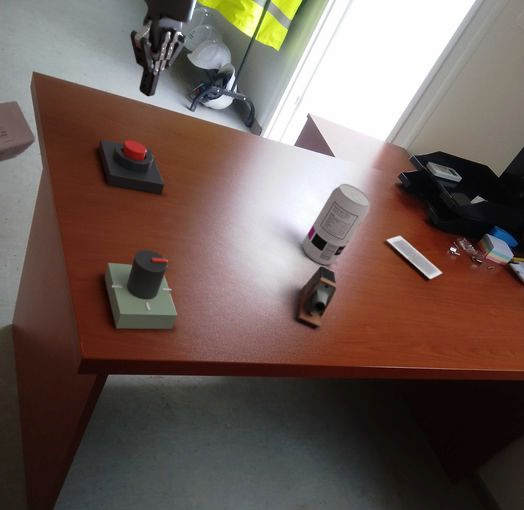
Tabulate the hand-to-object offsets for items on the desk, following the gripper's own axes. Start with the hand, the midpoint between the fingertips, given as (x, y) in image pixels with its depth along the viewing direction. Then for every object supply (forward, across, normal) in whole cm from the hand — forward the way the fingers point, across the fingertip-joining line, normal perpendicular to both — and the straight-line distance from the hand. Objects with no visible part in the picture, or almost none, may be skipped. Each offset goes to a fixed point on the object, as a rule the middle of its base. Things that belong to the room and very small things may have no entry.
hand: (146, 93), depth 78 cm
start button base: (+16, +1, 0) cm, 16 cm away
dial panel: (+16, -28, -22) cm, 39 cm away
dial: (+13, -28, -22) cm, 38 cm away
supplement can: (+15, +15, -39) cm, 45 cm away
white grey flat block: (+15, +40, -59) cm, 73 cm away
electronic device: (+16, -5, -44) cm, 47 cm away
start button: (+12, +1, 0) cm, 12 cm away
